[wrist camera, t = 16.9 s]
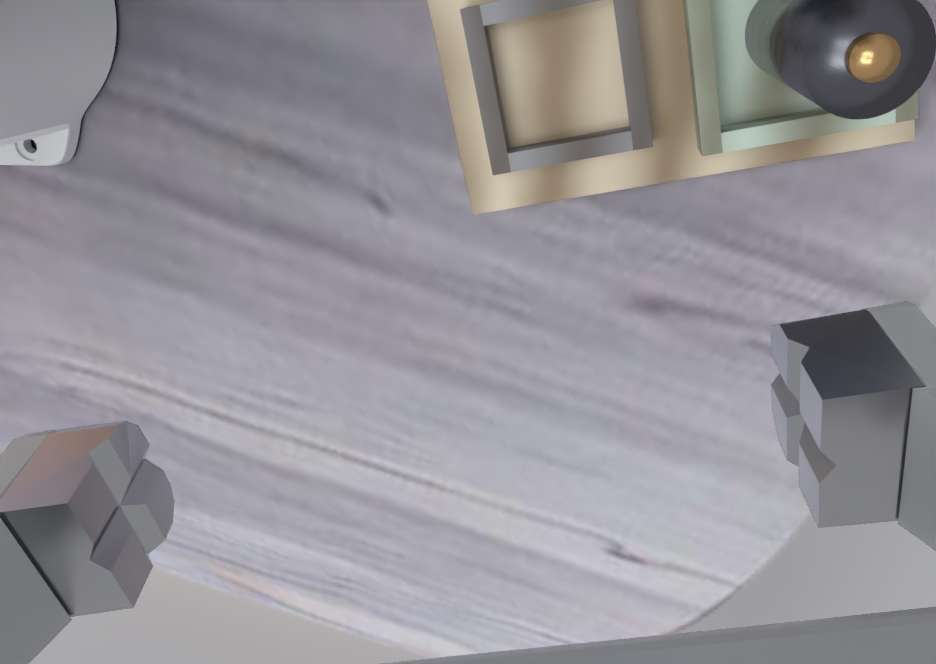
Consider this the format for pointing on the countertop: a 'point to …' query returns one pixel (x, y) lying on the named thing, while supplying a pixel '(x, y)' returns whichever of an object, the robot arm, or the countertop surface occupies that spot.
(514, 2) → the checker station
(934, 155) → the countertop surface
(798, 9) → the cell
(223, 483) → the countertop surface
